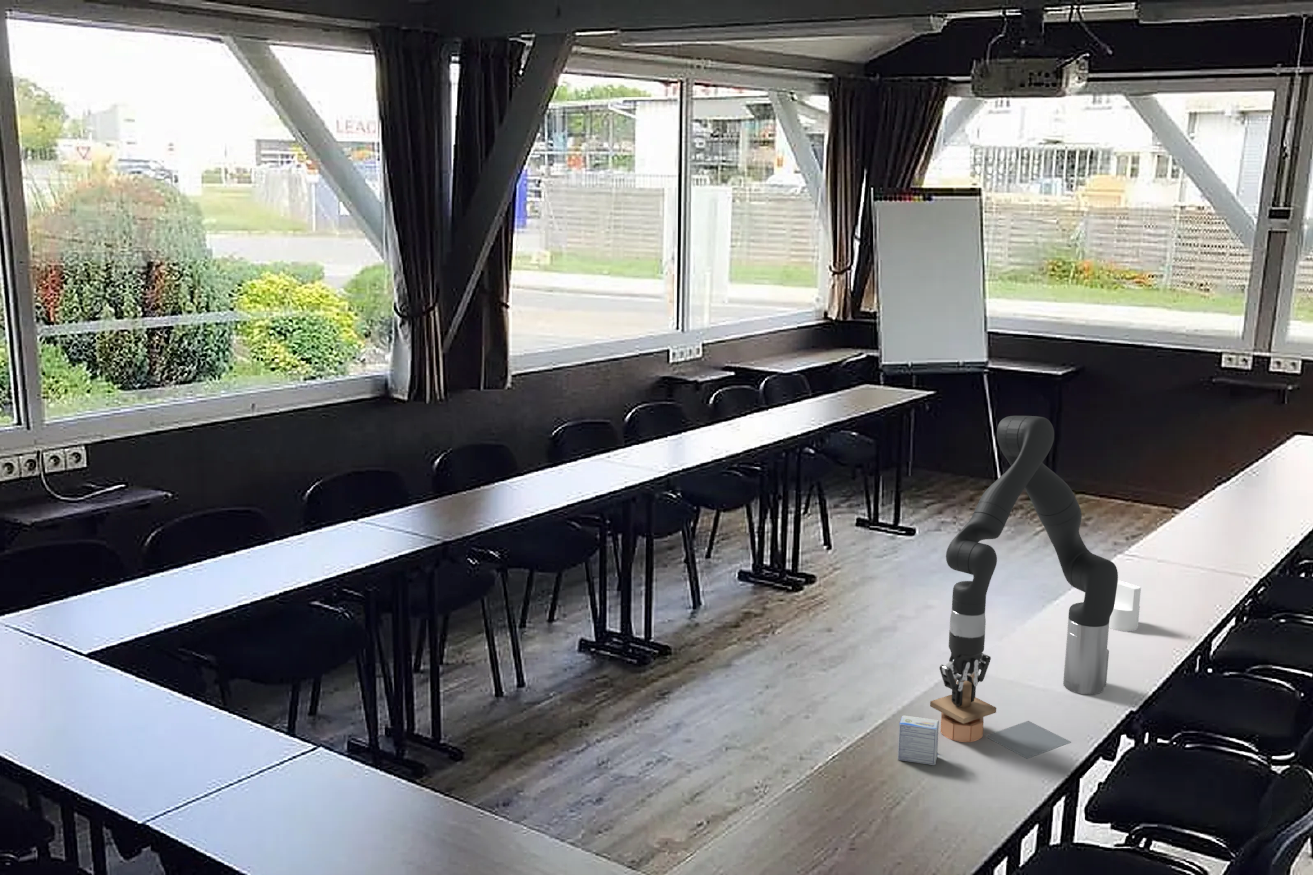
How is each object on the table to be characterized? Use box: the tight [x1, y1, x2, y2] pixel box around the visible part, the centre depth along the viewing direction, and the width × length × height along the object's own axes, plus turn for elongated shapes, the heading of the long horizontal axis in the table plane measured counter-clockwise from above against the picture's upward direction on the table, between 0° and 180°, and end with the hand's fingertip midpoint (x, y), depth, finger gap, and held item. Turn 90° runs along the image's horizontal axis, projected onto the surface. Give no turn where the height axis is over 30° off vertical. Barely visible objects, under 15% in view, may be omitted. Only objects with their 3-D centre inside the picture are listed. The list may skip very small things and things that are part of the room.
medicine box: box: [897, 714, 940, 766], centre depth 253 cm, size 8×4×9 cm, turn 71°
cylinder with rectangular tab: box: [1109, 579, 1142, 632], centre depth 325 cm, size 9×9×12 cm
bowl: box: [940, 712, 984, 743], centre depth 264 cm, size 9×9×4 cm
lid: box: [929, 681, 997, 724], centre depth 262 cm, size 10×10×6 cm
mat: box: [984, 720, 1072, 759], centre depth 261 cm, size 14×12×1 cm
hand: (963, 702), depth 263 cm, fingers closed on lid, 3 cm apart
